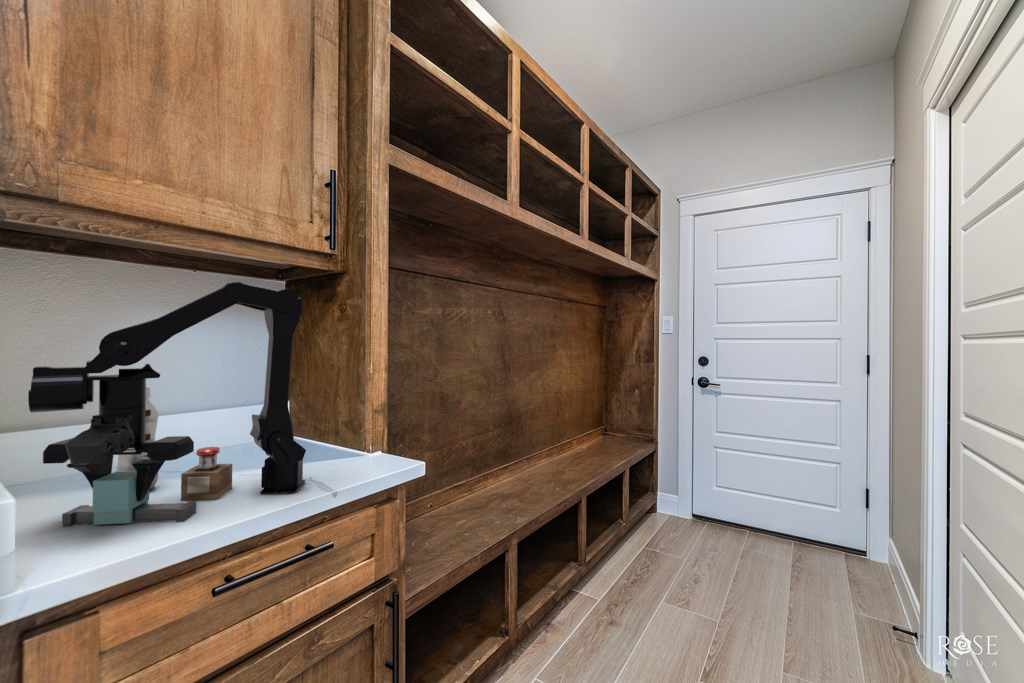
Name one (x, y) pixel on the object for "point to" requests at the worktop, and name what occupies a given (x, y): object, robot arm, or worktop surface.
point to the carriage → (115, 498)
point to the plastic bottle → (150, 428)
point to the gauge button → (208, 458)
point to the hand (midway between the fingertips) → (121, 501)
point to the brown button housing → (206, 483)
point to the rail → (135, 513)
